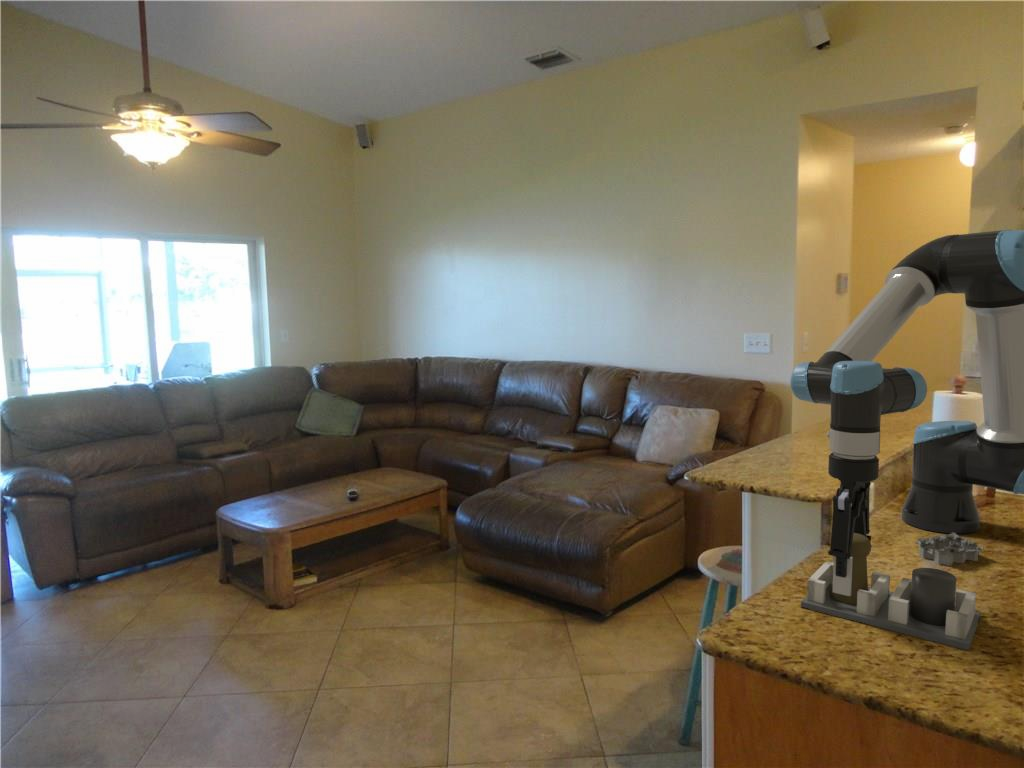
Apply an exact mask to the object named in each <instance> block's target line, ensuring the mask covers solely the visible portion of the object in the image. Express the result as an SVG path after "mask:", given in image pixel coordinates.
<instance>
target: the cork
mask: <svg viewBox="0 0 1024 768" xmlns="http://www.w3.org/2000/svg"><path fill="white" fill-rule="evenodd" d="M871 542H872V541H870V540H869V539H868V538H867V537H865V536H864V535H861V534H858V533H854V534H853V541H852V549H851V557H853V560H852V587H851V596H846V595H842V594H838V593H834V592H833V582H832V586H831V590H830V595H831V596H832V597H833V598H834V599H836V600H838V601H841V602H844V603H848V604H854V605H857V592H858V590H859V589H860V590H865V591H868V587H869V584H868V582H869V580H868V562H867V561H868V560H867V559H868V558H867V557H868V556H869V555H870V553H871V551H872V543H871ZM839 550H840V549H839Z"/></svg>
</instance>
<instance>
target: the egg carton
mask: <svg viewBox="0 0 1024 768" xmlns="http://www.w3.org/2000/svg"><path fill="white" fill-rule="evenodd" d="M914 544H915V546H917V545H918V546H919V547H918V555H919V558H921V557H922V558H921V559H923V558H928V559H927V560H932V559H933V560H932V561H933V562H934V564H935V563H936V564H935V565H938V564H941V566H942V564H943V566H948V567H950V565H951V566H953V563H957V562H958V564H965V563H966V561H973V562H978V561H979V553H980V552H981V553H982V552H983V549H985V548H984V546H983V545H981V546H978V545H977V543H976V541H971V540H970V539H968V538H966V537H965V536H962V537H961V536H959V534H958V533H954V532H953V533H948V534H946V535H940V536H939V535H936V536H933V537H928V538H924V537H918V538H917V539H916V541H915V542H914ZM977 560H978V561H977Z"/></svg>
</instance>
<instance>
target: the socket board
mask: <svg viewBox="0 0 1024 768" xmlns="http://www.w3.org/2000/svg"><path fill="white" fill-rule="evenodd" d="M833 564H834V562H831V561H827V560H826V561H824V562H823V564H822V565H821V566H819V568H818V569H817V570H816V571H815V572H814V573H813V574H812V575H811V576H810V577H809V578H808V579H807V585H806V586H807V590H806V596H804V597H803V598H802V599H801V601H800V608H802V607H805V608H804V609H806V608H809V609H808V610H810V609H812V610H811V611H813V610H815V611H814V612H817V611H818V612H817V613H821V612H822V614H825V613H826V614H825V615H830V616H834V617H838V618H841V619H844V618H845V619H844V620H848V619H849V621H852V620H853V621H852V622H856V621H858V622H857V623H860V622H862V623H861V624H864V623H865V625H868V624H869V625H868V626H872V627H876V628H879V629H883V630H888V631H891V632H895V633H900V634H902V633H903V635H907V636H910V637H915V638H919V639H921V640H922V639H923V640H927V641H930V642H934V643H937V644H941V645H942V644H943V645H946V646H950V647H953V648H957V649H961V650H965V651H968V652H969V651H970V648H971V645H972V643H973V639H974V637H975V634H976V631H977V628H978V625H979V623H980V620H979V619H981V611H976V607H977V606H976V602H977V601H976V600H977V593H976V592H972V591H967V590H962V589H958V588H957V577H956V576H955V574H953V573H951V572H948V571H946V570H944V569H937V568H932V567H918V568H914V569H913V570H912V571H911V572H912V573H911V578H906V577H902V579H901V580H900V582H899V583H898V585H897V586H896V587H895V589H894V591H890V587H891V586H890V583H891V582H890V581H891V574H887V573H882V572H878V571H872V572H871V577H870V578H871V579H870V581H871V582H870V586H868V591H865V590H860V589H859V590H858V592H857V605H854V604H848V603H844V602H841V601H838V600H836V599H834V598H833V597H832V596H831V595H830V590H831V586H832V582H833ZM978 622H979V623H978Z"/></svg>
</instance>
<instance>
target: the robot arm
mask: <svg viewBox="0 0 1024 768" xmlns="http://www.w3.org/2000/svg"><path fill="white" fill-rule="evenodd" d="M884 283H885V285H884V286H883V287H882V288H881V289H880V290H879V292H877V294H876V295H874V297H873V298H872V299H871V300H870V301H869V303H867V305H866V306H865V307H864V308H863V309H862V310H861V312H860V313H859V314H858V315H857V316H856V317H855V319H854V320H853V321H852V322H851V323H850V324H849V325H848V326H847V327H846V329H845V330H843V332H842V333H841V334H840V336H838V338H836V340H835V341H834V342H833V343H832V344H831V345H830V346H829V348H828V349H827V350H826V351H825V352H824V353H823V355H822V356H821V357H820V358H819V359H818V360H817V361H815V362H814V361H807V362H805V361H804V362H803V361H802V362H801V363H798V364H797V365H796V366H795V367H794V368H793V371H792V372H791V375H790V382H789V383H790V389H791V391H792V393H793V396H795V398H797V399H798V400H801V401H804V402H809V403H813V404H820V405H821V404H822V405H830V422H829V423H830V424H829V427H830V429H829V431H827V432H826V437H827V438H829V446H828V447H829V449H828V450H829V451H830V452H831V453H830V454H829V455H828V467H827V468H828V471H827V472H828V475H829V476H830V477H831V478H833V479H837V480H838V481H839V482H840V483H839V487H838V488H836V493H835V495H833V497H832V506H833V507H832V509H833V510H832V512H833V513H832V523H831V533H830V544H829V545H830V547H829V550H828V551H827V555H828V556H833V563H834V564H833V592H834V593H838V594H842V595H846V596H851V587H852V560H853V557H851V549H852V541H853V534H854V533H858V534H861V535H864V536H865V537H867V538H868V539H869V540H870V542H872V535H869V534H870V531H871V530H870V491H871V490H870V489H871V484H872V483H871V482H874V481H876V480H877V479H878V478H879V470H880V469H879V467H880V465H879V464H880V458H878V456H877V455H879V454H880V453H881V451H880V449H881V419H882V416H883V415H884V416H885V415H889V414H896V413H905V412H908V411H909V410H913V409H915V408H918V407H919V406H920V405H922V403H923V402H924V401H925V399H926V398H927V395H928V385H927V382H926V380H925V377H924V376H923V375H922V373H920V372H919V371H918V370H916V369H915V368H911V367H897V366H896V367H893V368H885V367H884V368H883V365H882V364H881V363H879V362H877V361H874V360H875V358H877V356H878V355H879V354H880V353H881V351H882V350H883V349H884V348H885V347H886V345H888V343H889V342H890V341H891V340H892V339H893V338H894V337H895V335H896V334H897V333H898V332H899V331H900V329H901V328H903V326H904V324H905V323H906V322H908V320H909V319H910V317H911V316H912V315H913V314H914V313H915V312H916V310H917V309H918V308H919V307H923V306H926V305H928V304H929V303H930V302H931V301H932V300H933V299H934V297H937V296H941V295H945V294H964V300H965V307H967V308H968V309H970V310H971V311H972V312H974V313H975V322H976V334H977V344H978V345H977V347H978V358H979V372H980V383H981V384H980V385H981V393H982V394H981V395H982V396H981V397H982V405H983V406H982V408H983V418H984V419H983V421H984V422H982V423H981V424H980V425H979V426H978V425H977V423H976V422H975V421H970V420H944V421H943V420H941V421H929V422H923V423H921V424H918V425H917V426H916V427H915V430H914V436H913V442H912V445H913V451H912V471H911V472H912V473H911V477H912V478H911V479H912V481H911V487H910V490H909V492H908V494H907V496H906V498H905V501H904V504H903V505H902V508H901V520H902V521H903V522H904V523H906V524H907V525H910V526H913V527H915V528H918V529H922V530H926V531H932V532H934V533H935V532H937V533H942V534H943V533H944V534H951V533H953V532H954V533H956V534H970V533H974V532H977V531H979V530H980V528H981V516H980V513H979V509H978V506H977V503H976V500H975V497H974V493H973V488H974V487H973V486H980V487H982V488H983V487H984V488H989V489H994V490H998V491H1003V492H1009V493H1011V494H1012V493H1013V494H1014V495H1019V494H1020V495H1024V229H1019V230H1018V229H1017V230H1013V229H1002V230H993V231H992V230H990V231H983V232H973V233H964V234H949V235H944V236H941V237H938V238H935V239H933V240H931V241H929V242H927V243H925V244H923V245H921V246H920V247H918V248H916V249H915V250H913V251H912V252H910V253H909V254H907V255H906V256H905V257H904V258H902V259H901V260H900V261H898V263H897V264H896V265H895V266H894V267H892V269H891V270H890V271H889V272H888V274H887V275H886V278H885V281H884ZM839 549H840V550H839Z"/></svg>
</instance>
